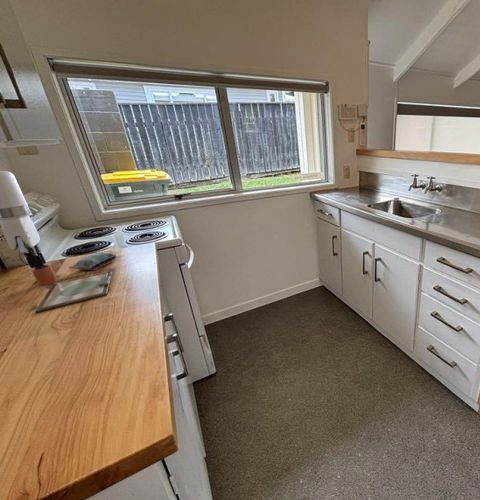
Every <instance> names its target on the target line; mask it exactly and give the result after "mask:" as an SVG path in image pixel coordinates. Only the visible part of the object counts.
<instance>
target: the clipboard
mask: <svg viewBox="0 0 480 500" xmlns="http://www.w3.org/2000/svg"><path fill="white" fill-rule="evenodd" d="M112 274H113V271H106V272H102V273H98V274H93V275H88V276H83V277H80V278H74V279H71V280H67V281H62V282H58V283H52V285H51V286H50V288H49V289H48V291H47V293H46V295H45V296H44V297H43V298H42V300H41V301H40V303H39V305H38V306H37V308H36V309H35V310H34V312H35V314H39V313H43V312H46V311H50V310H55V309H57V308H58V309H59V308H62V307H65V306H70V305H73V304H77V303H82V302H86V301H89V300H93V299H98V298H101V297H105V296H108V293H109V286H110V284H111V283H110V282H111V278H112Z"/></svg>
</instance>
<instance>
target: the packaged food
mask: <svg viewBox="0 0 480 500" xmlns="http://www.w3.org/2000/svg"><path fill="white" fill-rule="evenodd" d="M116 258H118V257H117V255H116V254H114V253H108V252H96V253H92V254H88V255H87V256H84V257H82V258H80V259H79V260H77V261H76V262H74V264H72V265H71V266H68V269H71V270H74V269H76V270H81V271H95V270H98V269H99V268H101V267H104V266H106V265H108V264H110V263H111V262H113V261H115V259H116Z"/></svg>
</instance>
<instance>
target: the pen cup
mask: <svg viewBox="0 0 480 500" xmlns="http://www.w3.org/2000/svg"><path fill="white" fill-rule="evenodd" d="M30 270H31V273H32V275H33V277H34V279H35V281H36V283H37V285H38V286H47V285H50V284H54V283H55V282H57V281H58V277H57V276H56V273H55V272H54V270H53V267H52V266H51V264H44V266H43V269H39V270H37V269H36V268H30Z"/></svg>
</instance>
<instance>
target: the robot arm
mask: <svg viewBox="0 0 480 500" xmlns="http://www.w3.org/2000/svg"><path fill="white" fill-rule="evenodd" d="M32 215H33V213H32V211H31V209H30V207H29V205H28V203H27V200H26V198H25V195H24V193H23V192H22V189H21V187H20V185H19V183H18V181H17V179H16V176H15V174H13V173H12V172H11V171H7V170H0V227H1V230H2V233H3V235H4V237H5V240H6V242H7V244H8V246H9V249H10V250H11V251H17V250H18V249H19V252H20V254H22V255H23V257H24V258H25V260H26V262H27V265H28V266H29V268H30V269H33V268H36V267H41V266H44V265H46V263H47V262H46V259H45V257H44V255H43V253H42V250H41V249H40V246H39V244H38V243H39V242H40V241H41V237H40V234H39V232H38V229H37V228H36V226H35V224H34V222H33V220H32V219H31V216H32Z"/></svg>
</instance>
